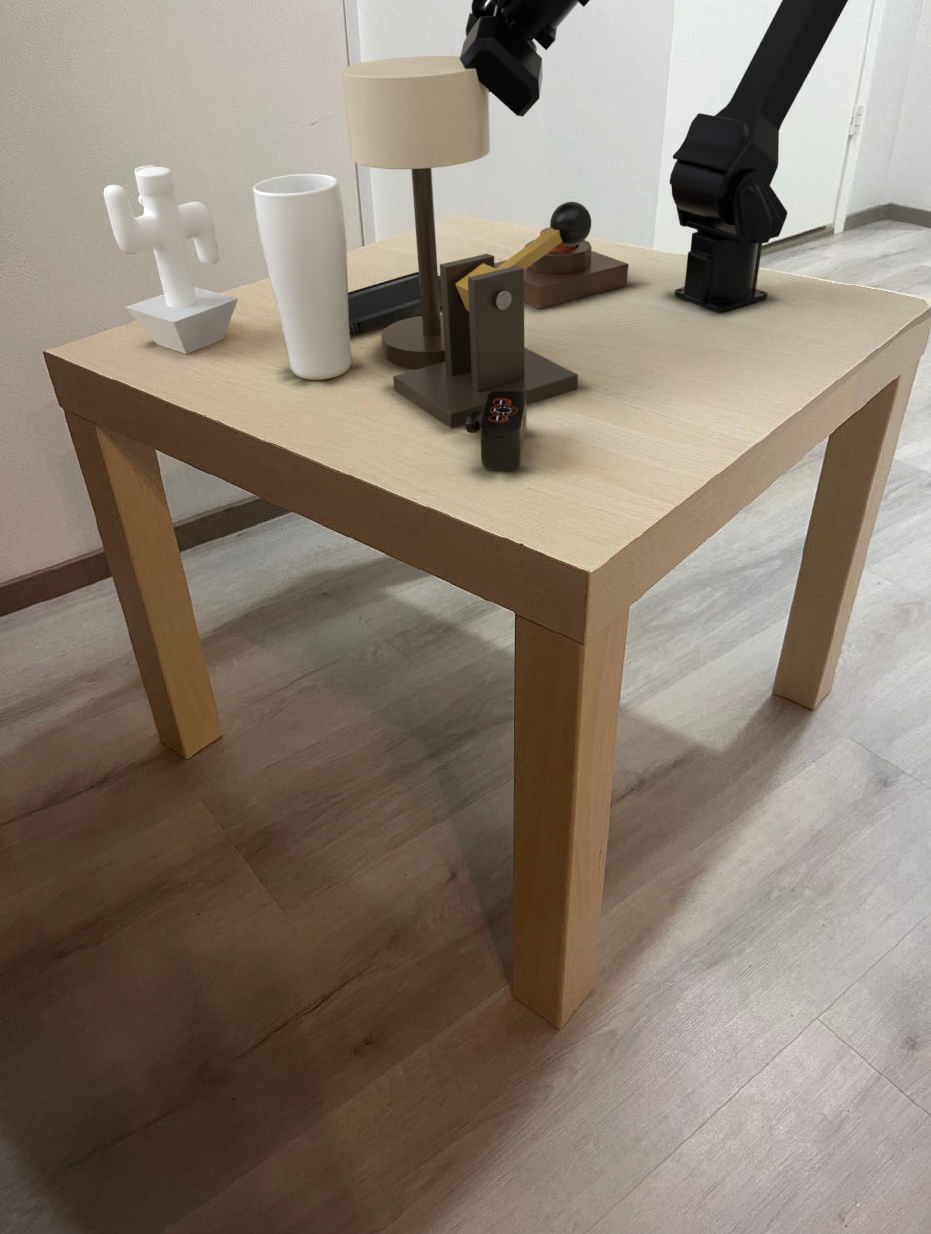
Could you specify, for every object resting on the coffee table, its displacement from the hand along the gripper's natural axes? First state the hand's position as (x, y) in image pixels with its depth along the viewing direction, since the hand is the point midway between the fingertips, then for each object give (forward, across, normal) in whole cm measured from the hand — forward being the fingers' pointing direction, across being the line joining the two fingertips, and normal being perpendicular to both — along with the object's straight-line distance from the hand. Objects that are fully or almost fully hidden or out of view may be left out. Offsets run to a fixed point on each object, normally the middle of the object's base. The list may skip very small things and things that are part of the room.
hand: (446, 101), depth 79 cm
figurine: (+28, +13, -7) cm, 31 cm away
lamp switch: (+5, +22, +12) cm, 25 cm away
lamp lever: (-2, +16, +10) cm, 19 cm away
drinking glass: (+16, +19, +2) cm, 25 cm away
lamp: (+11, +14, +10) cm, 20 cm away
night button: (+6, -4, +18) cm, 19 cm away
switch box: (+8, -3, +21) cm, 22 cm away
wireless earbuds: (+2, +32, +11) cm, 34 cm away
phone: (+18, +4, +7) cm, 20 cm away
